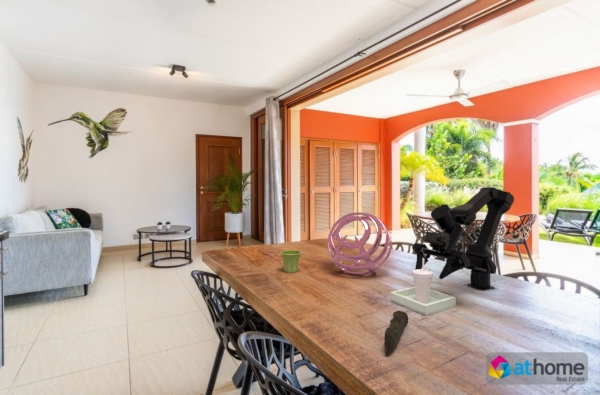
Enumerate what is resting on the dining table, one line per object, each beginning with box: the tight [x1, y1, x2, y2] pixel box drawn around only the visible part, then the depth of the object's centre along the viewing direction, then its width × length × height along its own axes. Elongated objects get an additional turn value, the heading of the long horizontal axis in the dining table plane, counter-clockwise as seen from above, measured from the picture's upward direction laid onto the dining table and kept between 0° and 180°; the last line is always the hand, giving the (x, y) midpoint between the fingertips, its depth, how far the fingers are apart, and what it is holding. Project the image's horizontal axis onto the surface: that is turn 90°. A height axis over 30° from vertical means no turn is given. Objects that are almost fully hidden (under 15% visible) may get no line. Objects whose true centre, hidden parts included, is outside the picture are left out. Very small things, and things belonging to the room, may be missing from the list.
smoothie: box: [411, 258, 434, 304], centre depth 101 cm, size 6×6×14 cm
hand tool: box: [383, 310, 409, 356], centre depth 79 cm, size 19×4×5 cm, turn 151°
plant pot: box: [280, 249, 302, 274], centre depth 143 cm, size 9×9×9 cm
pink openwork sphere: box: [327, 211, 393, 276], centre depth 140 cm, size 28×28×27 cm
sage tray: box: [389, 286, 457, 317], centre depth 102 cm, size 14×14×3 cm
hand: (427, 275), depth 103 cm, fingers open, 9 cm apart
